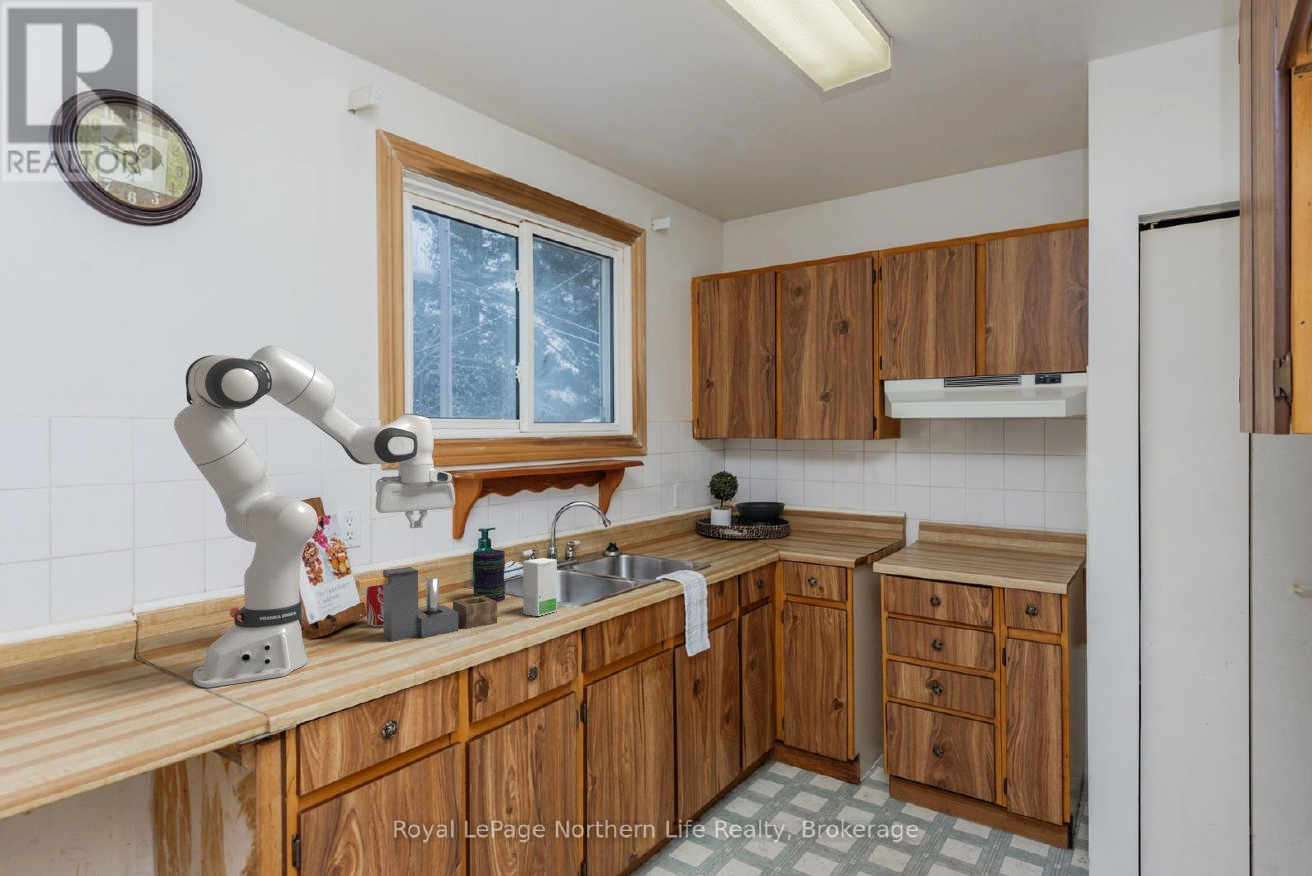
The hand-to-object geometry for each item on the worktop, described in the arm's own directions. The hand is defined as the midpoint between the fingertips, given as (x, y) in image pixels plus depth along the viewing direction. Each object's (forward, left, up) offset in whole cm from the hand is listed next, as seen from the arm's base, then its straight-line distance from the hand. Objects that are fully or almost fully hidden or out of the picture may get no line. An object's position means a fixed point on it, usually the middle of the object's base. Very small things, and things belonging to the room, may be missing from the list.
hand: (416, 527), depth 185 cm
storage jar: (+31, +22, -28) cm, 47 cm away
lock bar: (-8, 0, -14) cm, 16 cm away
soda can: (-5, +15, -28) cm, 32 cm away
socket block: (+1, 0, -28) cm, 28 cm away
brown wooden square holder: (+16, 0, -28) cm, 32 cm away
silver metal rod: (+4, 0, -28) cm, 28 cm away
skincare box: (+35, -3, -28) cm, 45 cm away
